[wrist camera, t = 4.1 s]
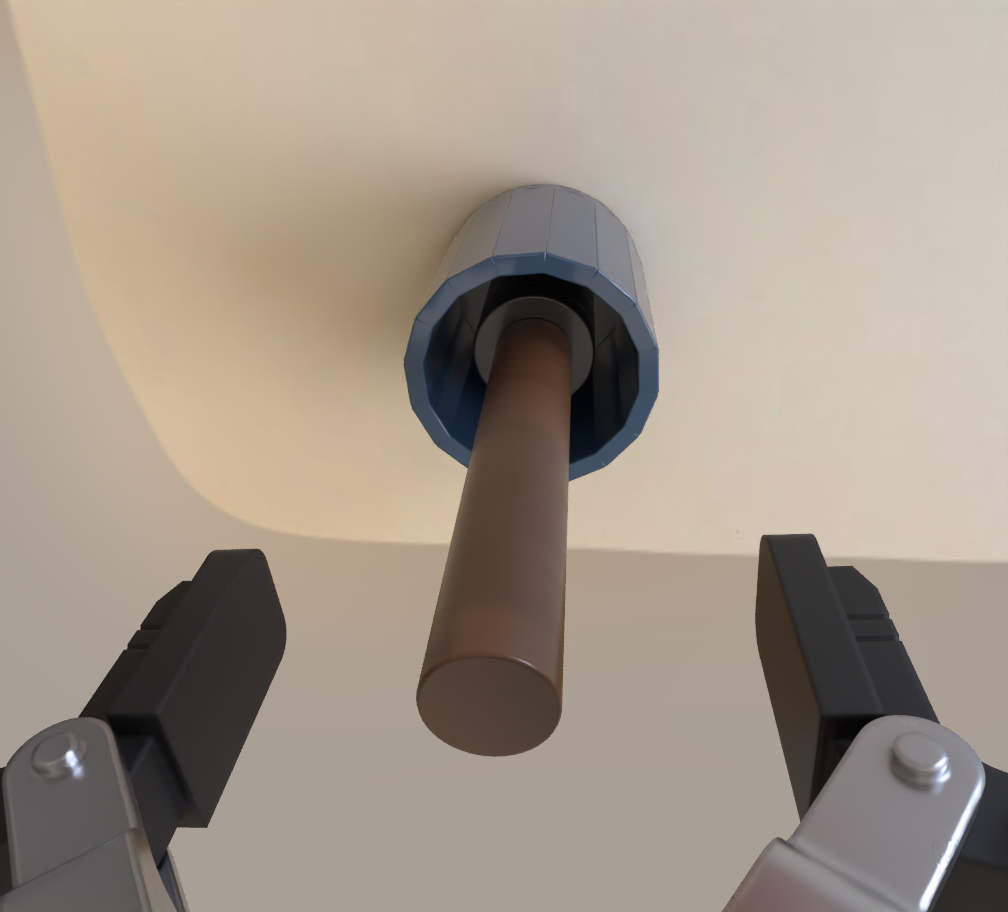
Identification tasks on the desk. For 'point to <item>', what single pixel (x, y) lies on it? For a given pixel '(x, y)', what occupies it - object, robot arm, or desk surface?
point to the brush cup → (559, 253)
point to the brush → (511, 527)
